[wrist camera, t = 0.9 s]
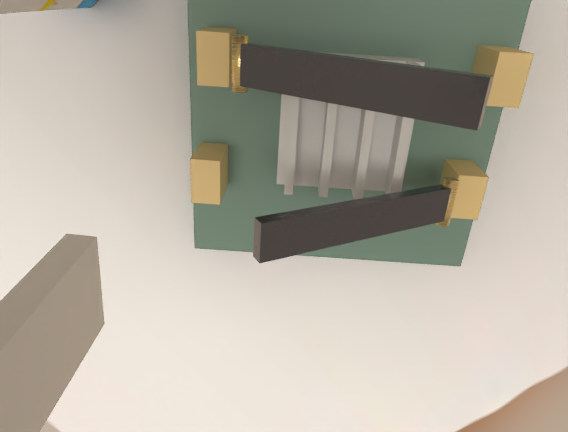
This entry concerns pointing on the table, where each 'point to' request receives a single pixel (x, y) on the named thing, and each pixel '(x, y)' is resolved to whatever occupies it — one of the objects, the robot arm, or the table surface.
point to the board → (342, 34)
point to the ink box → (42, 5)
